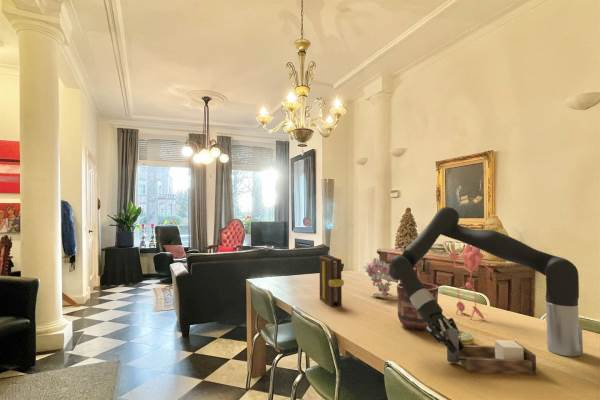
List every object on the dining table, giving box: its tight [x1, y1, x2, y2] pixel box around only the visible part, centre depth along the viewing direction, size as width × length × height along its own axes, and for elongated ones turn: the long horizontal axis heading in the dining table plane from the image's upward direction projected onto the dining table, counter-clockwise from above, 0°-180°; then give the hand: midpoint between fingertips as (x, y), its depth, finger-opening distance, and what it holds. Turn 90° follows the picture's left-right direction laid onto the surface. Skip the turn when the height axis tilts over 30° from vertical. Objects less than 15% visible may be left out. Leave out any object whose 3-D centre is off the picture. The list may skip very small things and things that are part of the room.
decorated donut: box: [443, 330, 475, 346], centre depth 132 cm, size 10×11×4 cm
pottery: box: [396, 281, 440, 332], centre depth 151 cm, size 18×18×18 cm
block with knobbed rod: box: [446, 328, 524, 364], centre depth 112 cm, size 22×6×10 cm, turn 84°
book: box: [318, 255, 345, 308], centre depth 193 cm, size 22×8×25 cm, turn 17°
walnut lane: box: [459, 340, 537, 376], centre depth 112 cm, size 20×12×6 cm, turn 84°
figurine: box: [449, 244, 493, 324], centre depth 167 cm, size 15×26×35 cm, turn 19°
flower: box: [362, 257, 401, 299], centre depth 208 cm, size 20×22×25 cm
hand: (458, 350), depth 112 cm, fingers closed on block with knobbed rod, 3 cm apart
